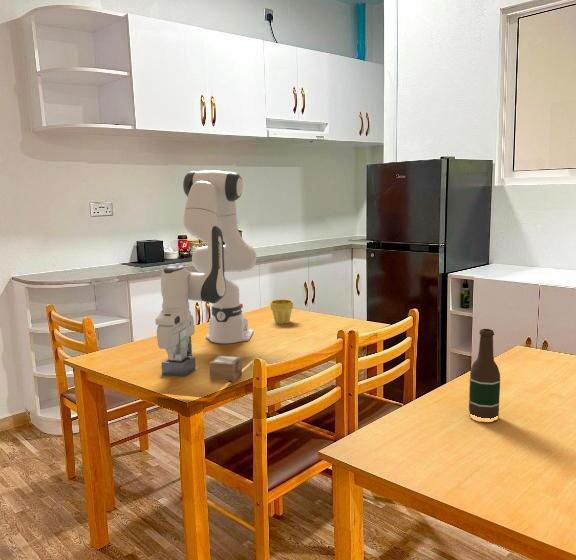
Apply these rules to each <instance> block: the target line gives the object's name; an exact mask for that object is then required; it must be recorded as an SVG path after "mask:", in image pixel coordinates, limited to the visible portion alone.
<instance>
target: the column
mask: <svg viewBox="0 0 576 560" xmlns="http://www.w3.org/2000/svg"><path fill="white" fill-rule="evenodd" d="M186 340H187V336H186V329H184V330H182V331H180V332H179V343H178V344H177V345H175V346H173V353H175V358H174V359H173V360H170V359H169V362H178V363H183V362H185V361H186V360H187V341H186Z"/></svg>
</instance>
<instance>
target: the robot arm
mask: <svg viewBox="0 0 576 560" xmlns="http://www.w3.org/2000/svg"><path fill="white" fill-rule="evenodd" d="M186 173H187V174H185V176H184V178H183V181H182V183H183V184H182V187H183V192H184V194H185V196H186V197H187V198H186V202H185V207H184V212H183V214H184V215H183V226H184V228H185V230H186V231H187V233H189V235H191V236H192V237H194V238H196V239H198V240H200V241H202V242H203V243H204V244H205V245H203V246H198V247H196V248H195V249H194V251H193V253H192V256H191V261H192V266H193V268H194V269H195V270H196V271H198V272H195V271H190V270H188V269H186V266H184V264H172V265H168V266H166V267H164V268H163V269H162V271H161V275H160V290H161V291H160V292H161V296H162V305H161V308H162V310H160V313H159V314H158V316H156V318H155V325H156V326H157V328H156V337H157V338H156V339H157V340H156V341H157V346H158V348H159V349H161V350H165V352H166V354H167V359H170V360H173V359H174V358H175V353H173V346H175V345H177V344H178V343H179V332H180V331H182V330H184V329H186V336H187V340H186V341H187V350H188V342H189V337H190V336H191V337H192V336H193V335H195V331H196V330H195V320H194V317H193V314H192V313H191V311H190V302H189V301H196V302H197V301H198V302H204V303H210V304H212V305H211V310H210V311H211V315H212V316H211V317H210V318H209V319H208V334H207V335H205V339H207V340H209V341H210V342H211V343H216V344H234V343H239V342H247V341H250V339H251V337H252V336H253V334H254V329H252V328H249V323H248V319H247V318H246V317H245V316H244V314H242V313H243V310H242V309H243V307H244V304H243V303H240V287H239V286H238V284H237V283H235V281H232V280H231V279H228V278H226V277H225V273H233V272H234V273H236V272H237V273H238V272H247V271H250V270H252V269H253V268H254V267H255V266H256V263H257V260H258V259H257V253H256V251H255V249H254V248H253V247H252V245H250V244H248V243H247V242H246V241H245V240H244V239H243V238H242V236H241V234H240V231H239V228H238V227H239V226H238V220H237V218H238V217H237V216H238V215H237V203H236V201H237V200H239V199H240V198H241V196H242V194H243V189H244V185H243V184H244V183H243V179H242V176H241V175H240V174H239V173H237V172H235V171H234V172H233V171H223V170H217V169H216V170H215V169H213V170H199V171H198V170H191V171H188V172H186Z"/></svg>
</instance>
